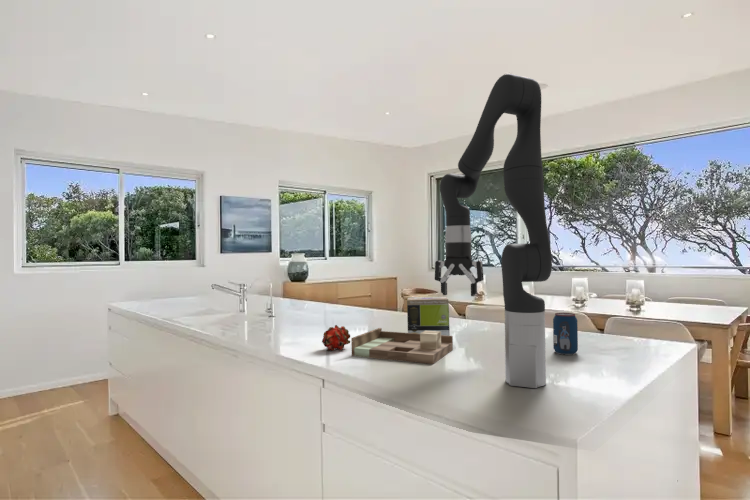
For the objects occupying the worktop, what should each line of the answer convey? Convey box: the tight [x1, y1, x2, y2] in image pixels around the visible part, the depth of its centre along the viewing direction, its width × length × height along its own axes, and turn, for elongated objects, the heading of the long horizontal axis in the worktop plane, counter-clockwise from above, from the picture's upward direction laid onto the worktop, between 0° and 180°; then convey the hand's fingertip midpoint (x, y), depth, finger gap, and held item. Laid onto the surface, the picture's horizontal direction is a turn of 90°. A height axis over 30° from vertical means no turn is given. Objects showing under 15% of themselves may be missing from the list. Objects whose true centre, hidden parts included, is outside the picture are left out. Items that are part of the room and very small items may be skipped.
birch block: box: [420, 331, 441, 349], centre depth 141 cm, size 5×5×4 cm
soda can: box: [552, 312, 579, 356], centre depth 142 cm, size 7×7×12 cm
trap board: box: [350, 327, 454, 365], centre depth 145 cm, size 20×26×6 cm
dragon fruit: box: [321, 324, 351, 352], centre depth 151 cm, size 8×8×12 cm
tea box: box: [406, 296, 451, 336], centre depth 169 cm, size 15×10×15 cm, turn 84°
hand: (458, 295), depth 138 cm, fingers open, 8 cm apart
